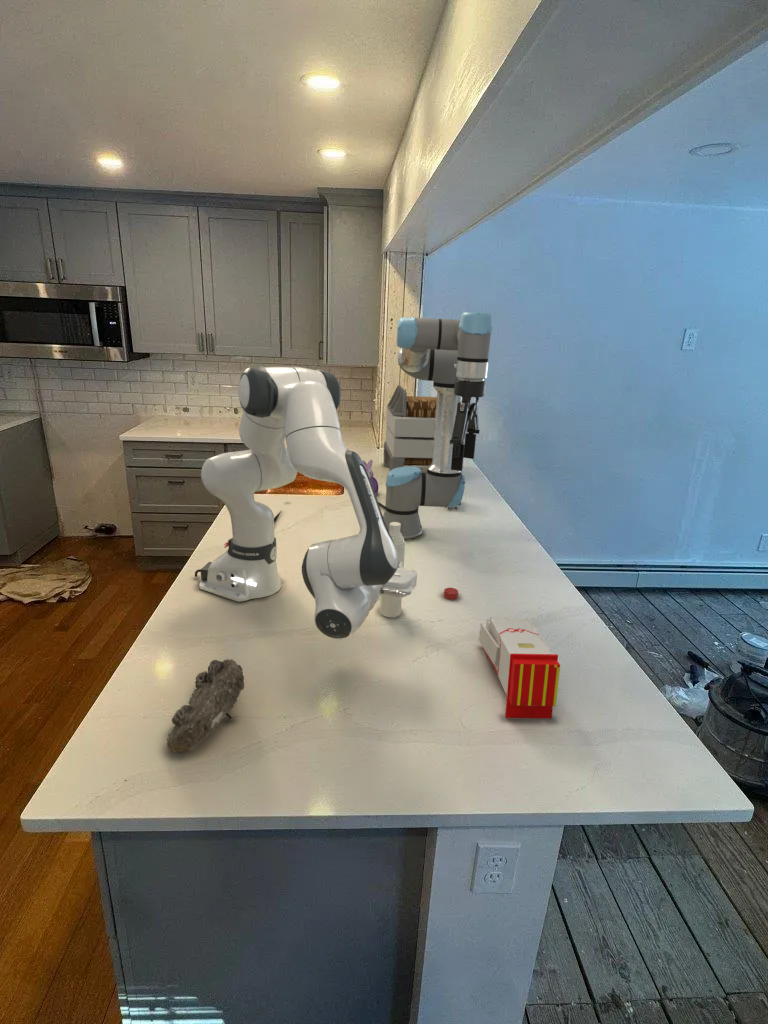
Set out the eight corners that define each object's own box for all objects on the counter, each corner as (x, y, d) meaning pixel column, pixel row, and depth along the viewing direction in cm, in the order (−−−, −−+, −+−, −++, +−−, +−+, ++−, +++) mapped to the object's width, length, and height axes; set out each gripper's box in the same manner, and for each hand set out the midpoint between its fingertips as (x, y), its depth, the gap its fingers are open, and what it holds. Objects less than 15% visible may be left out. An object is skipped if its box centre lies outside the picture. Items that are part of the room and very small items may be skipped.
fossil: (192, 660, 117) (244, 628, 112) (224, 691, 120) (276, 661, 115) (142, 746, 98) (202, 712, 93) (182, 779, 101) (242, 748, 96)
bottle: (387, 619, 145) (392, 529, 136) (376, 610, 149) (379, 522, 141) (405, 614, 148) (410, 525, 139) (393, 605, 152) (398, 518, 143)
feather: (288, 505, 226) (290, 501, 226) (271, 529, 199) (273, 524, 199) (284, 503, 226) (287, 499, 225) (266, 526, 199) (269, 522, 199)
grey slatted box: (382, 463, 289) (386, 382, 275) (445, 464, 293) (451, 384, 279) (390, 482, 257) (394, 392, 243) (460, 483, 261) (468, 394, 247)
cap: (460, 597, 157) (461, 591, 157) (450, 601, 155) (450, 595, 155) (451, 591, 160) (451, 586, 160) (440, 595, 158) (441, 589, 158)
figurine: (363, 499, 233) (364, 464, 228) (353, 492, 242) (354, 458, 236) (383, 497, 237) (385, 462, 232) (373, 490, 246) (374, 456, 241)
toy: (525, 603, 136) (569, 660, 107) (520, 654, 139) (562, 725, 109) (475, 601, 135) (505, 659, 106) (471, 653, 138) (499, 724, 109)
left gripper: (409, 582, 114) (424, 556, 127) (315, 566, 119) (339, 542, 132) (408, 610, 116) (423, 581, 129) (315, 593, 122) (338, 567, 134)
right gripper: (466, 373, 150) (459, 451, 157) (442, 383, 128) (435, 473, 135) (495, 375, 148) (486, 455, 155) (475, 386, 126) (466, 478, 133)
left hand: (379, 561), depth 130 cm, fingers open, 8 cm apart
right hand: (462, 463), depth 145 cm, fingers open, 13 cm apart
